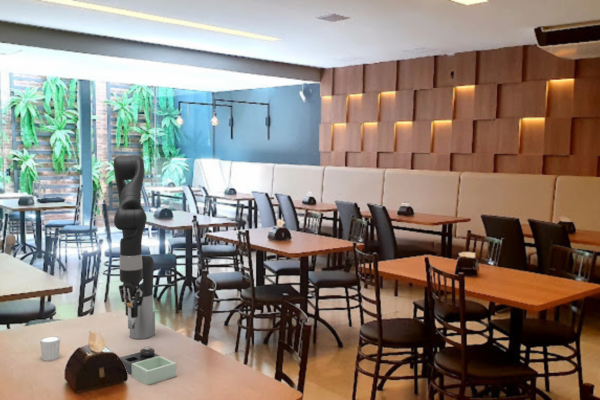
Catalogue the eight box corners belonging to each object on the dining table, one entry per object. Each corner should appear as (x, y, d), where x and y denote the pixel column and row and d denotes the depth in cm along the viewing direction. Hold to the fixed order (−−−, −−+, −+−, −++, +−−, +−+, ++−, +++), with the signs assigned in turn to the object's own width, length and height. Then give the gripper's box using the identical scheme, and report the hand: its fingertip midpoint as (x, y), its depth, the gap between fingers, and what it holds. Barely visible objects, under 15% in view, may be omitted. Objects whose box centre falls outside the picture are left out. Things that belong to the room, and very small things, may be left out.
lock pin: (133, 325, 201) (133, 300, 200) (138, 328, 199) (138, 302, 198) (125, 327, 198) (124, 302, 198) (129, 329, 196) (129, 304, 195)
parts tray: (160, 368, 201) (160, 355, 200) (176, 376, 194) (176, 363, 193) (131, 376, 193) (131, 363, 193) (147, 385, 186) (147, 371, 186)
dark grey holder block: (148, 359, 209) (148, 342, 209) (161, 365, 203) (161, 348, 202) (117, 367, 201) (117, 350, 200) (130, 374, 194) (130, 356, 194)
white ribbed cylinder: (53, 362, 205) (52, 343, 205) (36, 360, 207) (35, 341, 206) (64, 355, 212) (64, 337, 211) (48, 353, 213) (47, 335, 213)
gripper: (151, 268, 194) (152, 318, 196) (130, 262, 204) (131, 310, 206) (131, 272, 189) (132, 323, 191) (111, 265, 199) (111, 314, 200)
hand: (131, 316), depth 198 cm, fingers closed on lock pin, 3 cm apart
